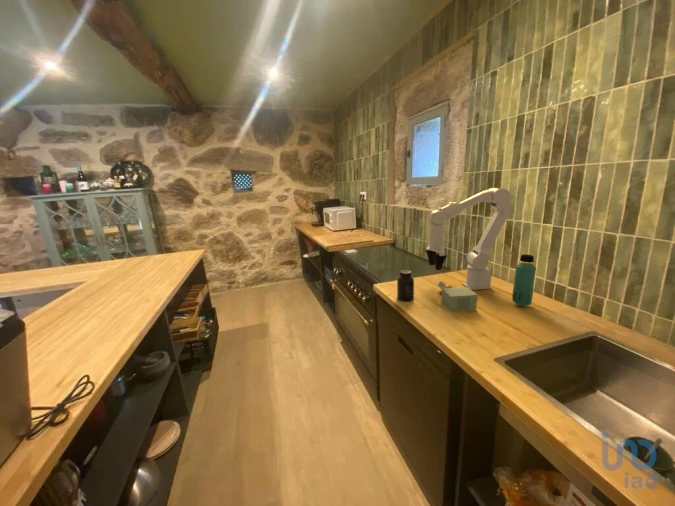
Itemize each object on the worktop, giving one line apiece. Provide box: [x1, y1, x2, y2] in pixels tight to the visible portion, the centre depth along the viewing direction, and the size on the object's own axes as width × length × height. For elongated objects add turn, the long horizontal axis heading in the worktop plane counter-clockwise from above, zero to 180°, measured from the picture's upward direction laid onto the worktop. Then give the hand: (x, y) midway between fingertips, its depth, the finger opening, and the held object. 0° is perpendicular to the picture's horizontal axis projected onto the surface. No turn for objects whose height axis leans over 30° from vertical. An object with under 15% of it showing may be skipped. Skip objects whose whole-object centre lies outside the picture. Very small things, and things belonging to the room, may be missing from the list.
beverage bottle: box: [511, 254, 537, 306], centre depth 104 cm, size 6×7×20 cm
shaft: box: [437, 281, 454, 290], centre depth 117 cm, size 14×5×5 cm, turn 2°
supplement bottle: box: [396, 269, 415, 302], centre depth 116 cm, size 7×7×12 cm
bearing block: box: [440, 286, 478, 312], centre depth 108 cm, size 10×8×6 cm
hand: (435, 267), depth 126 cm, fingers open, 7 cm apart
